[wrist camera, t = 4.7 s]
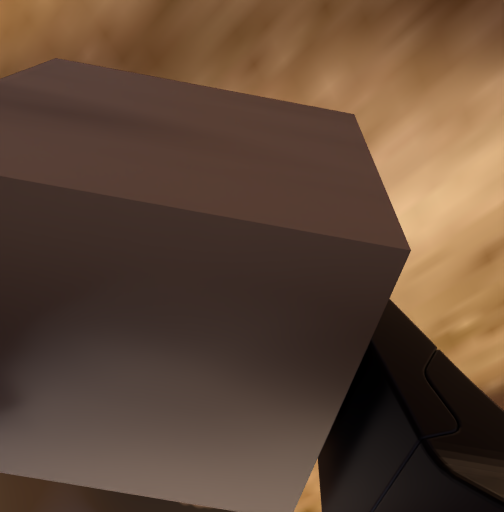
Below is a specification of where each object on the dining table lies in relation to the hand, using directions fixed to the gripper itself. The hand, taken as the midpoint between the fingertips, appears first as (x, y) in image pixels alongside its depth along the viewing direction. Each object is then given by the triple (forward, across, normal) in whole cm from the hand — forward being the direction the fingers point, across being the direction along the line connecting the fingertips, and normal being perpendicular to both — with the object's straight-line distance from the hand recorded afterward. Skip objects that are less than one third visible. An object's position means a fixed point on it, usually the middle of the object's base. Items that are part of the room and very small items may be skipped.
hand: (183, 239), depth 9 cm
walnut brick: (+1, 0, 0) cm, 1 cm away
